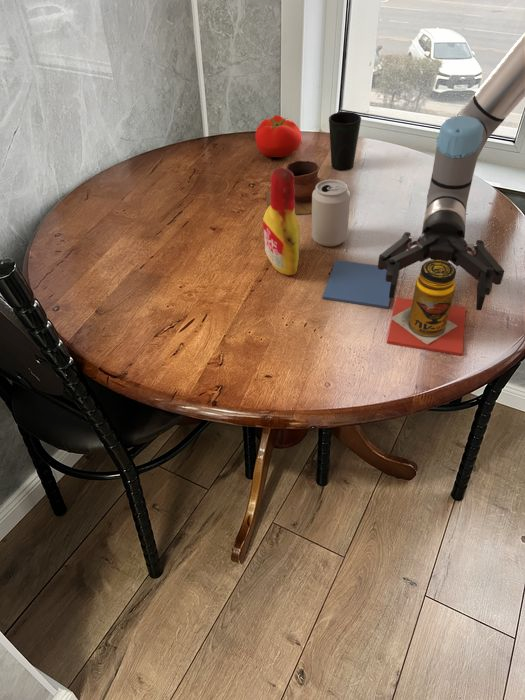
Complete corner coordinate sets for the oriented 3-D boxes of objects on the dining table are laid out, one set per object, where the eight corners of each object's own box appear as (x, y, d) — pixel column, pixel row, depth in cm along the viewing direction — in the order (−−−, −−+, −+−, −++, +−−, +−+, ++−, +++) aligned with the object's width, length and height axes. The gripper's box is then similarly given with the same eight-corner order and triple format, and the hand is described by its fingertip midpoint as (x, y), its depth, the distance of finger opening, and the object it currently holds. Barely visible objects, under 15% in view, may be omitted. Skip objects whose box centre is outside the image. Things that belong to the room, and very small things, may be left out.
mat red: (465, 309, 95) (465, 306, 95) (461, 355, 87) (462, 353, 87) (396, 299, 98) (396, 296, 98) (386, 343, 90) (387, 340, 90)
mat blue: (396, 270, 104) (397, 267, 104) (388, 308, 96) (388, 306, 96) (335, 262, 107) (335, 259, 107) (322, 298, 99) (322, 296, 99)
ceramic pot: (265, 216, 121) (264, 187, 117) (264, 179, 134) (263, 152, 129) (346, 212, 121) (347, 183, 116) (336, 175, 134) (338, 148, 129)
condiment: (427, 345, 88) (440, 286, 80) (390, 318, 93) (398, 261, 85) (457, 327, 91) (473, 268, 83) (419, 302, 96) (431, 244, 88)
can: (316, 227, 117) (317, 175, 109) (350, 232, 115) (354, 179, 107) (307, 245, 112) (307, 192, 104) (342, 251, 110) (346, 197, 102)
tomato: (297, 165, 139) (297, 132, 133) (250, 162, 142) (248, 130, 136) (305, 144, 148) (306, 112, 142) (261, 142, 150) (260, 110, 144)
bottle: (306, 278, 104) (307, 181, 90) (274, 284, 103) (270, 187, 89) (291, 245, 113) (289, 152, 99) (261, 250, 112) (255, 157, 98)
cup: (326, 159, 141) (328, 112, 132) (356, 158, 140) (359, 111, 132) (328, 173, 135) (329, 124, 127) (358, 172, 135) (362, 123, 126)
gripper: (510, 252, 100) (513, 327, 85) (374, 237, 106) (355, 304, 91) (521, 216, 94) (526, 289, 80) (377, 202, 101) (358, 267, 86)
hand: (435, 297), depth 86 cm, fingers open, 13 cm apart
